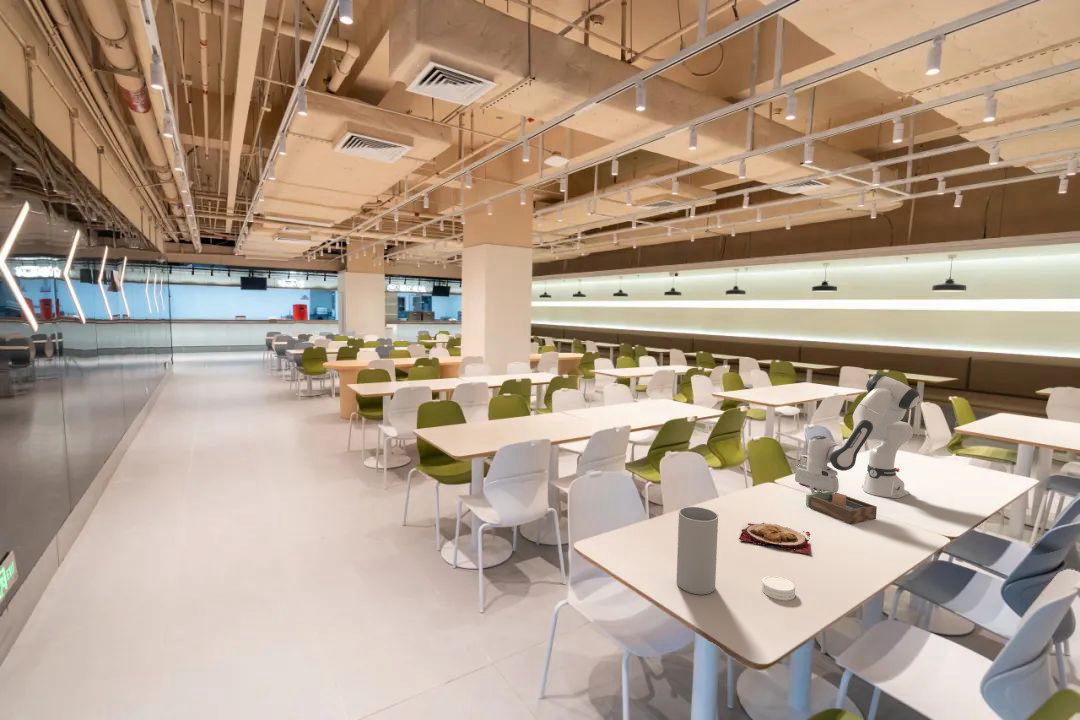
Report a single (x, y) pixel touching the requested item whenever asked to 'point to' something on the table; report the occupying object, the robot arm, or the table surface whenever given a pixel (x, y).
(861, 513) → the organiser housing
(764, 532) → the plate with food
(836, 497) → the terracotta block
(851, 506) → the grey drawer
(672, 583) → the table surface
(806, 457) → the candy bar box
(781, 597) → the coaster
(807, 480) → the robot arm
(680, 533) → the cylinder vase
